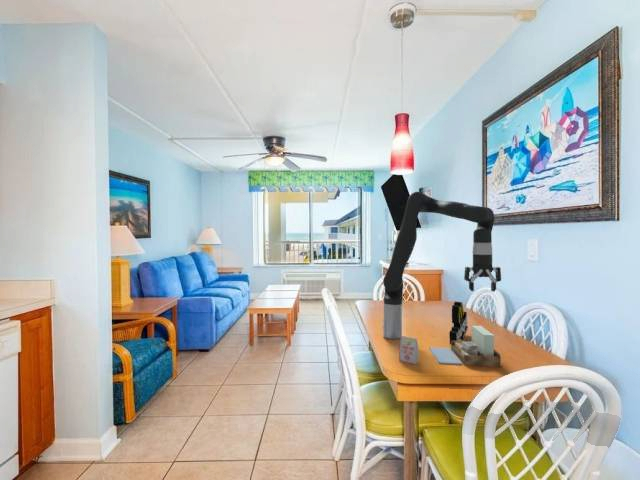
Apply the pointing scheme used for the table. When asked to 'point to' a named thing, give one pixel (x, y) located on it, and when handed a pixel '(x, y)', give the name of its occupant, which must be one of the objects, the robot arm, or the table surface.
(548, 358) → the table surface
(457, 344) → the offcut
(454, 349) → the wooden tray
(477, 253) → the robot arm
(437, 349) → the mat
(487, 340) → the pale green slab
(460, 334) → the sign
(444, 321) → the table surface
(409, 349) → the printed grey box
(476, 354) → the offcut
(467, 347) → the offcut
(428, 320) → the table surface
